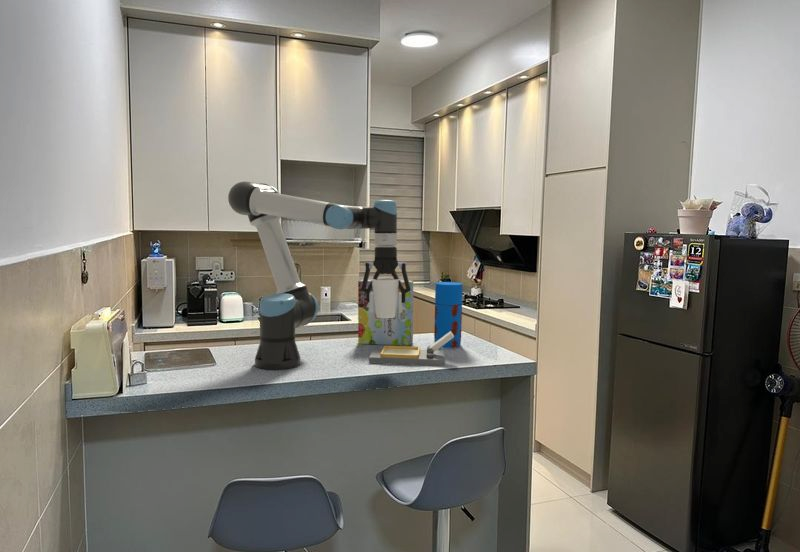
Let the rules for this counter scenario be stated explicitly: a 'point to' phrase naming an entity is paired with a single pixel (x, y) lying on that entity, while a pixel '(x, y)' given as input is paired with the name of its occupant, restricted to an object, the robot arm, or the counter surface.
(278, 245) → the robot arm
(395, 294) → the foam cup
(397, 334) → the snack box
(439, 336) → the thermos
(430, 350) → the lever
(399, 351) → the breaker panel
